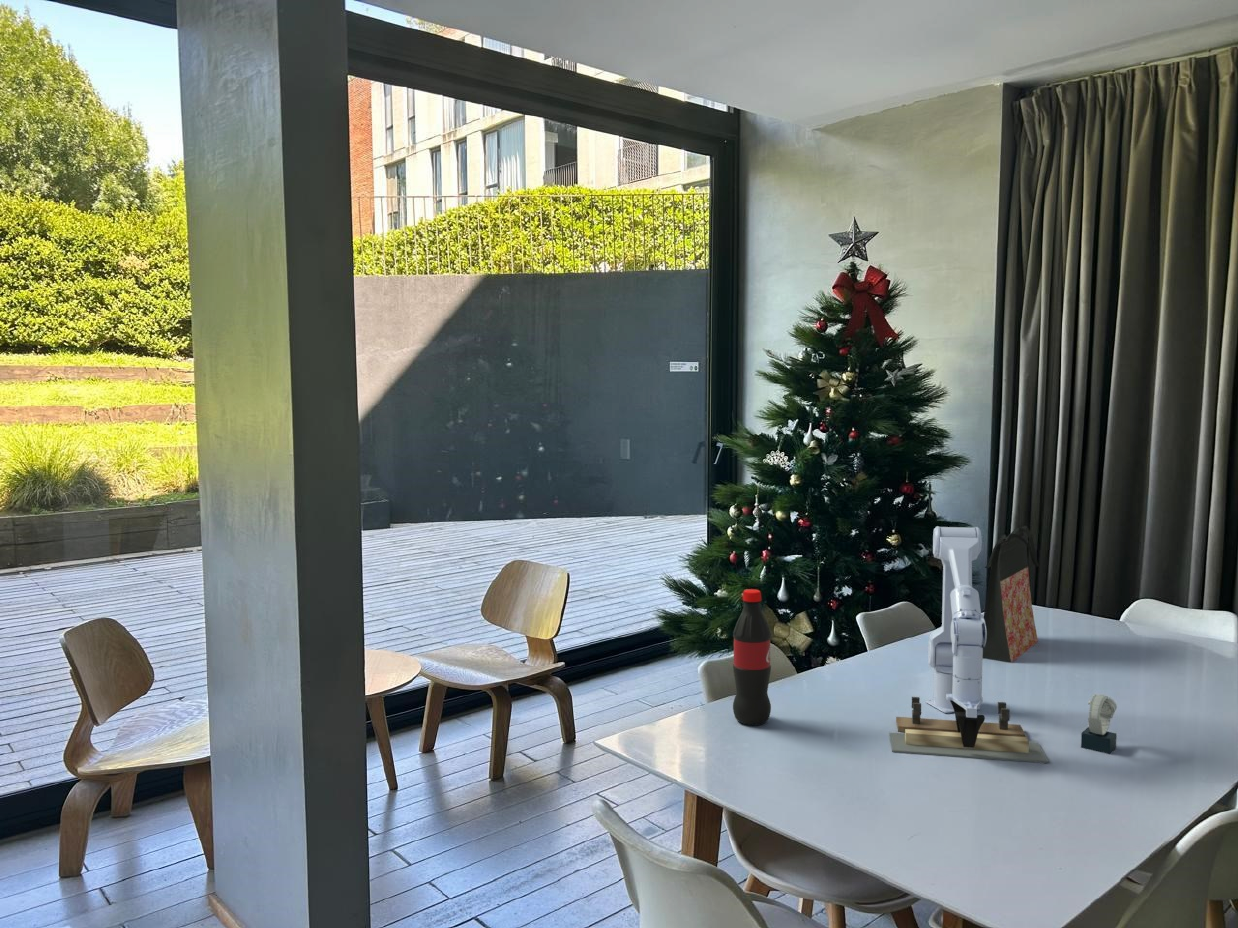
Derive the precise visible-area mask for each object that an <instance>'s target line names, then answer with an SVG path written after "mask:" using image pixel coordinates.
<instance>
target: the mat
mask: <svg viewBox="0 0 1238 928" xmlns="http://www.w3.org/2000/svg"><path fill="white" fill-rule="evenodd" d="M888 734H889V740H890V747H891V753H899V754H900V753H901V754H902V753H903V754H915V755H927V756H928V755H929V756H939V757H941V756H943V757H952V758H953V757H954V758H955V757H956V758H967V759H969V758H970V759H983V760H993V761H994V760H995V761H996V760H997V761H1009V762H1023V763H1024V762H1025V763H1036V764H1037V763H1039V764H1049V763H1050V762H1049V759H1048V757H1047V756H1046V754H1045V752H1044V751H1043V749H1042V747H1041V745H1040V743H1039V742H1034V741H1033V742H1032V741H1031V742H1030V741H1029V753H1021V752H1007V751H993V750H979V749H965V748H951V747H937V746H923V745H909V744H906V743H905V733H904V732H900V733H899V732H889V733H888Z"/></svg>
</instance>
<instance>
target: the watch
mask: <svg viewBox="0 0 1238 928" xmlns="http://www.w3.org/2000/svg"><path fill="white" fill-rule="evenodd" d="M1087 704H1088V705H1089V712H1088V718H1087V720H1088V721H1087V722H1088V727H1086V728H1085V729H1084V730H1083V731H1082V732H1081V736H1080V737H1081V738H1080V741H1081V743H1080V748H1082V749H1086V750H1091V751H1094V752H1099V753H1103V754H1107V755H1111V754H1112V753H1113V752H1114V751H1115V750H1116V749H1117V732H1116V733H1115V732H1112V731H1108V730H1109V728H1110V725H1111V724H1110V723H1111V719H1113V717H1114V715H1115V713H1116V711H1117V709H1118V705H1117V703H1116V702H1115V700H1114V699H1112V698H1111V697H1109V696H1108V695H1105V694H1093V695H1092V697H1091V699H1090V700H1088V701H1087Z"/></svg>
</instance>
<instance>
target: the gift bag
mask: <svg viewBox="0 0 1238 928" xmlns="http://www.w3.org/2000/svg"><path fill="white" fill-rule="evenodd" d="M1017 532H1019V534H1017ZM1028 551H1029V555H1030V559H1031V562H1032V564H1033V565H1034V566H1035V567H1037V568H1039V567H1040V566H1039V565H1040V564H1039V562H1038V557H1037V551H1036V548H1035V542H1034V539H1033V535H1032V533H1031V531H1030V529H1029V527H1028V526H1027V525H1023V526H1022V527H1019V526H1018V527H1016V528H1014V529H1013V530H1012V532H1010V533H1009V534H1007V535H1006V534H1003V535H1001V536H1000V538H999V539H998V540H997V541H996V544H994V546H993V548H992V552H991V554H990V556H989V559H988V562H987V565H986V566H985V567H983V568H985V569H989V568H990V570H989V578H988V585H987V592H986V601H985V607H984V611H983V618H984V620H985V624H986V631H987V638H986V644H985V647H983V645H981V646H982V648H983V659H987V660H993V661H998V662H1004V663H1010V664H1012V663H1013V662H1014V661H1015V660H1017V659H1018V658H1019V657H1020V656H1022V655H1023V654H1024V653H1026V652H1027V651H1028V650H1029V649H1031V648H1032V647H1034V646H1035V645H1036V644H1037V643H1038V642H1039V638H1038V634H1037V628H1036V621H1035V618H1034V611H1033V604H1032V596H1031V594H1032V593H1031V586H1030V575H1029V563H1028V562H1029V560H1028Z"/></svg>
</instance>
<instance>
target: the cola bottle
mask: <svg viewBox="0 0 1238 928" xmlns="http://www.w3.org/2000/svg"><path fill="white" fill-rule="evenodd" d="M742 602H744V603H743V609H742V611H741V613H740V615H739V617H738V619H737V621H736V623H735V627H734V629H733V632H732V637H733V665H732V670H733V676H734V683H735V688H736V689H735V690H736V691H735V693H736V694H735V697H734V699H733V702H732V703H733V704H732V711H733V715H734V718H735V719H736V721H738V722H739V723H741V724H743V725H745V726H746V725H747V726H759V725H763V724H766V723H767V721H768V720H769V719H770V716H771V711H772V704H771V701H770V698H769V695H768V691H769V683H770V678H771V677H770V676H771V670H772V665H771V638H772V632H771V629H770V626H769V623H768V621H767V618H766V617H765V615H764V613H763V611H762V608H761V602H762V593H761V591H760V590H759V589H756V588H755V589H751V588H750V589H744V590H743V594H742Z"/></svg>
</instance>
